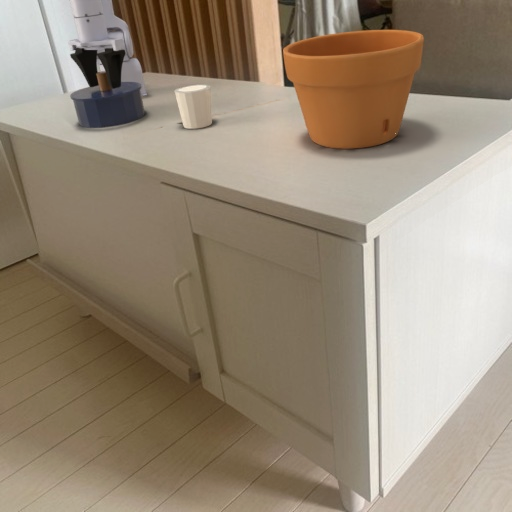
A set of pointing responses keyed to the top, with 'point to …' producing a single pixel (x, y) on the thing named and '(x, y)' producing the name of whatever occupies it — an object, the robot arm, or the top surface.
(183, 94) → the white cup
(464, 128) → the top surface
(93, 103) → the pot
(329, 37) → the flower pot
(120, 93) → the pot lid
